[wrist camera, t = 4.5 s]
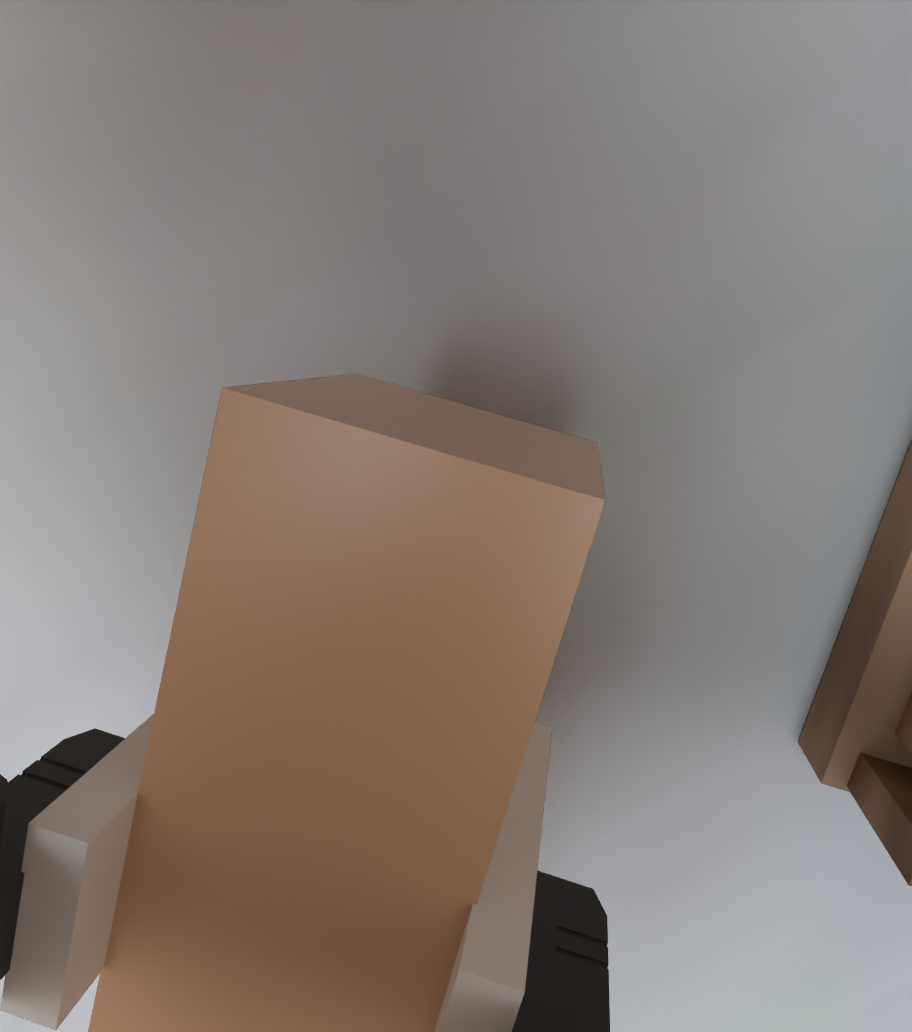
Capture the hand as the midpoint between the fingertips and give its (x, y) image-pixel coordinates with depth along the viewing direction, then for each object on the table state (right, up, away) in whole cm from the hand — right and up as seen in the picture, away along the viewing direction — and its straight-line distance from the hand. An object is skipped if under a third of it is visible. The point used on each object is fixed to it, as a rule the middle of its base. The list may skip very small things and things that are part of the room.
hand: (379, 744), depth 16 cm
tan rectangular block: (0, 0, +1) cm, 1 cm away
